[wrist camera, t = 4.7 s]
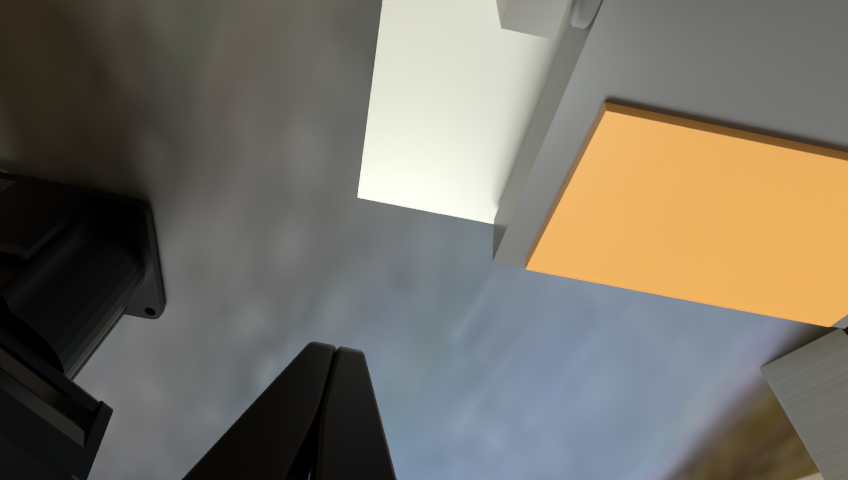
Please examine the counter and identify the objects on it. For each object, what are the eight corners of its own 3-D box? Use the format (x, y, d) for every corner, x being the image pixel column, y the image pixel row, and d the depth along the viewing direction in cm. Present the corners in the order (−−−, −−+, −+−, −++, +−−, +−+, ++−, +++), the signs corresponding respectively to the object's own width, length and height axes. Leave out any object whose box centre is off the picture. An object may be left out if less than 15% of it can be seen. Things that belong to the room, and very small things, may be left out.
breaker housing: (845, 227, 20) (1018, 392, 14) (378, 134, 19) (334, 264, 13) (1246, -274, 12) (2120, -434, 6) (467, -478, 11) (465, -937, 5)
